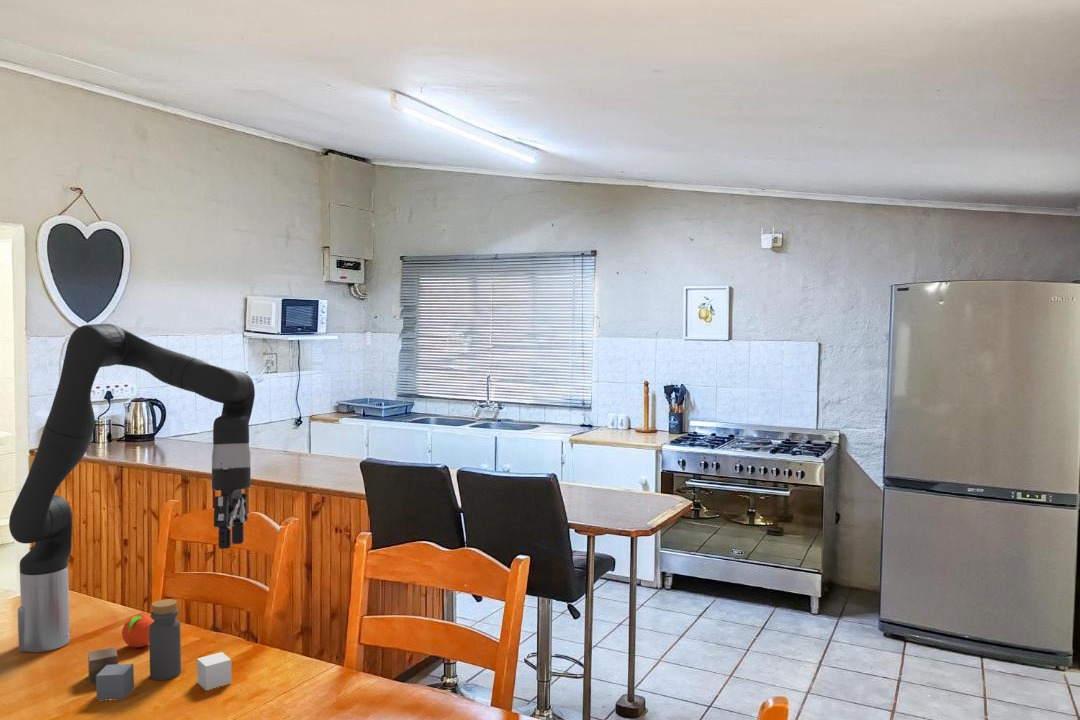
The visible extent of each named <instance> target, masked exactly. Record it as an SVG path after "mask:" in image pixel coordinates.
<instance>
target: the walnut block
mask: <svg viewBox="0 0 1080 720" xmlns="http://www.w3.org/2000/svg"><path fill="white" fill-rule="evenodd" d="M87 656H88V657H87V659H88V660H87V663H88V680H89V681H88V682H89V685H90V686H92V685H96V675H97V674H98V673H99V672H100V671H101V670H102V669H103V668H104V667H105V666H106V665H115V664H119V660H118V659H119V658H118V653H117V647H116V646H114V647H110V648H109V647H108V648H104V649H98V650H93V651H88V654H87Z"/></svg>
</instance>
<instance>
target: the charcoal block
mask: <svg viewBox="0 0 1080 720" xmlns="http://www.w3.org/2000/svg"><path fill="white" fill-rule="evenodd" d="M134 671H135V670H134V663H120V664H119V663H118V664H115V665H106V666H105V667H104V668H103V669H102V670H101V671H100V672H99V673H98V674H97V675H96V684H95V686H96V687H95V688H96V691H95V692H96V701H97V700H105V701H110V700H109V699H112V700H111V701H114V700H113V699H124V700H125V699H126V698H127V697H128V696H129V695H130V694H131V692H132V691H133V690H134V688H135V683H134V682H135V679H134V678H135V674H134ZM127 695H128V696H127ZM126 696H127V697H126ZM106 699H107V700H106Z"/></svg>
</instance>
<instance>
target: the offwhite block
mask: <svg viewBox="0 0 1080 720" xmlns="http://www.w3.org/2000/svg"><path fill="white" fill-rule="evenodd" d="M196 670H197V673H196V676H197V677H196V679H197V681H196V682H197V684H198V685H200V687H201V688H202V689H203V690H205V691H206V692H208V691H211V690H214V689H213V688H215V689H217V688H216V687H218V688H220V687H219V686H222V685H225V686H227V685H226V684H229V685H231V684H230V683H232V659H231V657H229V656H227V655H226V654H225V653H224V652H223V651H220V652H217V653H212V654H209V655H205V656H202V657H198V658H196ZM222 687H223V686H222ZM210 689H211V690H210ZM207 690H208V691H207Z"/></svg>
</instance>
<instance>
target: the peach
mask: <svg viewBox="0 0 1080 720" xmlns="http://www.w3.org/2000/svg"><path fill="white" fill-rule="evenodd" d="M153 622H154V620H153V619H152V618H151V616H148V615H146V614H136V615H134V616H131V617H130V618H129V619H128V620H127V621H126V622H125V623H124V625H123V627H122V630H121V636H122V640H123V641H124V643H125V644H126V645H128V646H129V647H130V648H131V647H132V648H141V647H145V646H147V645H148V644H149V626H150V624H151V623H153Z"/></svg>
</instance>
